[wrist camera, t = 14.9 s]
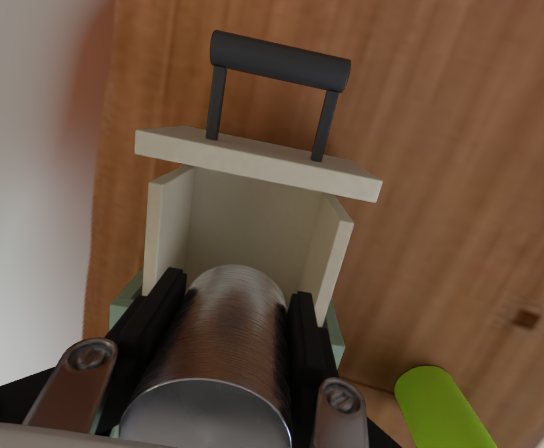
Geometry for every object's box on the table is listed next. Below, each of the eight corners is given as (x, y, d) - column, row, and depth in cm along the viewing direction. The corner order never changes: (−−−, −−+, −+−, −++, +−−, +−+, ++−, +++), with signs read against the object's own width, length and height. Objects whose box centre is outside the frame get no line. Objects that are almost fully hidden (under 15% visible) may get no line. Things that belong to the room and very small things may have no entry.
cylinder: (207, 246, 11) (149, 353, 6) (304, 290, 12) (325, 420, 7) (170, 327, 13) (96, 471, 8) (259, 363, 13) (248, 520, 8)
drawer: (191, 43, 20) (140, -1, 13) (371, 82, 20) (422, 63, 13) (168, 284, 26) (125, 349, 19) (306, 309, 27) (317, 382, 19)
